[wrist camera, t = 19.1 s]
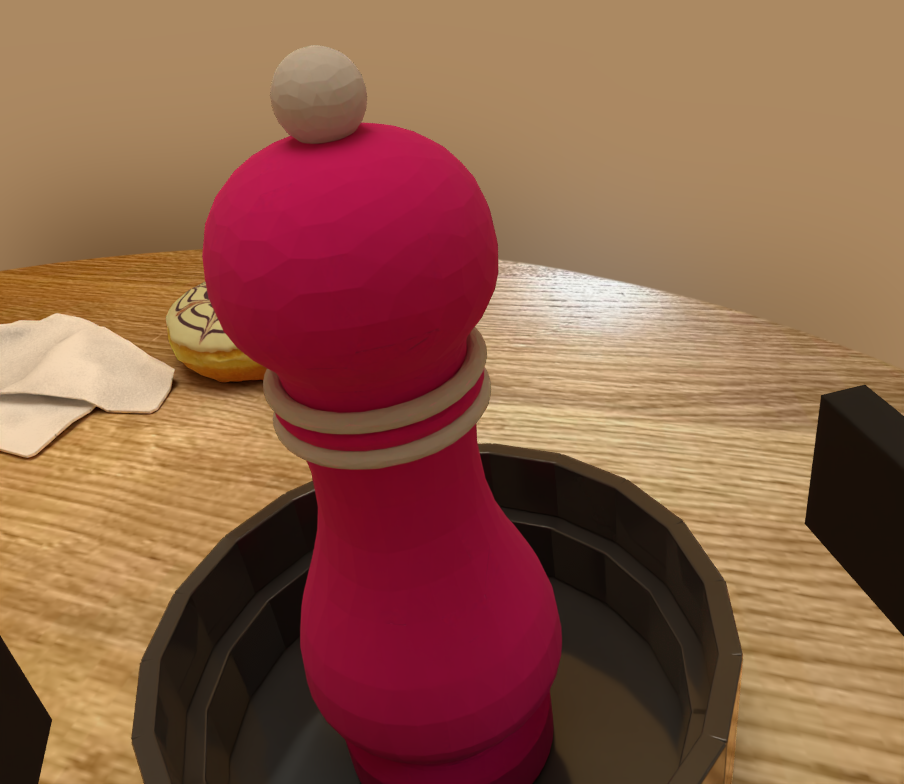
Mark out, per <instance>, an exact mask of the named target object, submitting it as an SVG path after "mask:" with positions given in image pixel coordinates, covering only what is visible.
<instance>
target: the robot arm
mask: <svg viewBox="0 0 904 784" xmlns="http://www.w3.org/2000/svg"><path fill="white" fill-rule="evenodd" d="M805 525H806V526H807V527H808V528H809V529H810V530H811V531H812V532H813V534H814V535H815V536H816V537H817V538H818V539H819V540H820V542H821V543H822V544H823V545H824V546H825V547H826V548H827V550H828V551H829V552H830V553H831V554H832V555H833V556H834V558H835V559H836V560H837V561H838V562H839V563H840V564H841V565H842V567H843V568H844V569H845V570H846V571H847V572H848V573H849V575H850V576H851V577H852V578H853V579H854V580H855V581H856V583H857V584H858V585H859V586H860V587H861V588H862V589H863V591H864V592H865V593H866V594H867V595H868V596H869V597H870V598H871V600H872V601H873V602H874V603H875V604H876V605H877V606H878V608H879V609H880V610H881V611H882V612H883V613H884V614H885V616H886V617H887V618H888V619H889V620H890V621H891V622H892V624H893V625H894V626H895V627H896V628H897V629H898V630H899V631H900V633H901V634H902V635H903V636H904V416H903V415H902V414H901V413H899V412H898V411H897V410H896V409H894V408H893V407H892V406H891V405H889V404H888V403H887V402H886V401H884V400H883V399H882V398H881V397H880V396H878V395H877V394H876V393H875V392H873V391H872V390H871V389H870V388H868V387H867V386H866V385H862V386H857V387H853V388H849V389H845V390H841V391H837V392H833V393H829V394H824V395H821V402H820V409H819V417H818V425H817V433H816V441H815V448H814V456H813V464H812V472H811V479H810V487H809V495H808V503H807V511H806V518H805ZM51 722H52V719H51V717H50V716H49V714H48V712H47V711H46V709H45V707H44V706H43V704H42V703H41V701H40V699H39V698H38V696H37V694H36V693H35V691H34V690H33V688H32V686H31V685H30V683H29V682H28V680H27V678H26V677H25V675H24V673H23V672H22V670H21V669H20V667H19V665H18V664H17V662H16V660H15V659H14V657H13V656H12V654H11V652H10V651H9V649H8V647H7V646H6V644H5V643H4V641H3V639H2V638H1V636H0V784H38V782H39V777H40V773H41V768H42V764H43V759H44V754H45V750H46V745H47V741H48V736H49V731H50V727H51Z"/></svg>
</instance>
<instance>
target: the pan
mask: <svg viewBox="0 0 904 784" xmlns="http://www.w3.org/2000/svg"><path fill="white" fill-rule="evenodd" d="M478 448H479V452H480V457H481V461H482V466H483V470H484V474H485V479H486V481H487V483H488V485H489V488H490V490H491V492H492V495H493V497H494V499H495V501H496V502H497V504H498V505H499V507H500V508H501V510H502V511H503V512H504V514H505V515H506V517H507V518H508V519H509V520H510V521H511V522H512V523H513V524H514V525H515V527H516V528H517V529H518V530H519V532H520V533H521V534H522V536H523V537H524V538H525V539H526V541H527V542H528V543H529V545H530V546H531V548H532V549H533V551H534V552H535V554H536V555H537V557H538V559H539V561H540V563H541V565H542V567H543V569H544V571H545V573H546V575H547V577H548V579H549V581H550V583H551V585H552V588H553V592H554V596H555V601H556V605H557V609H558V614H559V619H560V623H561V630H562V650H561V658H560V662H559V666H558V670H557V674H556V678H555V680H554V682H553V684H552V686H551V688H550V696H551V705H552V713H553V729H554V730H553V740H552V745H551V749H550V753H549V756H548V758H547V760H546V763H545V765H544V767H543V769H542V770H541V772H540V774H539V776H538V777H537V778H536V780H535V781H534V782H533V783H532V784H731V782H732V776H733V769H734V757H735V745H736V733H737V722H738V721H737V719H738V711H739V699H740V687H741V675H742V664H743V653H742V649H741V645H740V640H739V636H738V632H737V628H736V624H735V619H734V615H733V611H732V607H731V602H730V598H729V594H728V590H727V585H726V582H725V581H724V579H723V577H722V576H721V574H720V573H719V571H718V570H717V569H716V567H715V566H714V564H713V563H712V561H711V560H710V559H709V557H708V556H707V554H706V553H705V551H704V550H703V549H702V547H701V546H700V544H699V543H698V541H697V540H696V539H695V537H694V536H693V534H692V533H691V531H690V530H689V529H688V527H687V526H686V524H685V523H684V522H683V520H681V519H680V518H679V517H677V516H676V515H675V514H673V513H672V512H671V511H669V510H668V509H667V508H665V507H664V506H663V505H661V504H660V503H659V502H657V501H656V500H655V499H653V498H652V497H650V496H649V495H648V494H646V493H645V492H644V491H642V490H641V489H640V488H638V487H637V486H636V485H634V484H633V483H632V482H630V481H629V480H626V479H625V478H622V477H620V476H617V475H615V474H612V473H610V472H607V471H604V470H602V469H599V468H597V467H594V466H592V465H589V464H587V463H584V462H582V461H579V460H576V459H574V458H571V457H569V456H566V455H564V454H562V455H561V454H560V453H554V452H547V451H540V450H534V449H527V448H521V447H514V446H508V445H501V444H491V443H487V444H478ZM317 525H318V504H317V499H316V494H315V489H314V483H313V481H311V482H309V483H306V484H304V485H302V486H300V487H297V488H295V489H293V490H291V491H288V492H286V493H285V494H283V495H281V496H280V497H279V498H277V499H276V500H274V501H273V502H272V503H270V504H269V505H267V506H266V507H265V508H263V509H262V510H260V511H259V512H258V513H256V514H255V515H253V516H252V517H251V518H249V519H248V520H246V521H245V522H244V523H242V524H241V525H239V526H238V527H237V528H235V529H234V530H232V531H231V532H229V533H228V534H227V535H226V536H225V537H223V538H222V539H221V540H220V542H219V543H218V544H217V545H216V546H215V547H214V548H213V549H212V551H211V552H210V553H209V554H208V555H207V556H206V557H205V558H204V560H203V561H202V562H201V563H200V564H199V565H198V566H197V567H196V569H195V570H194V571H193V572H192V573H191V574H190V575H189V576H188V578H187V579H186V580H185V581H184V582H183V583H182V584H181V585H180V587H179V588H178V589H177V590H176V591H175V594H173V596H172V598H171V600H170V602H169V604H168V606H167V608H166V610H165V612H164V614H163V616H162V618H161V621H160V623H159V625H158V627H157V629H156V631H155V633H154V635H153V637H152V639H151V641H150V643H149V645H148V647H147V649H146V651H145V653H144V655H143V657H142V659H141V663H140V669H139V678H138V686H137V695H136V703H135V712H134V720H133V729H132V737H131V739H132V746H133V749H134V752H135V756H136V759H137V762H138V766H139V769H140V772H141V776H142V779H143V783H144V784H362V783H361V781H360V780H359V778H358V776H357V773H356V771H355V769H354V765H353V762H352V759H351V756H350V753H349V750H348V747H347V744H346V741H345V739H344V738H343V737H342V736H341V735H340V734H339V733H338V732H337V731H336V730H335V729H334V728H333V727H332V726H331V725H330V724H329V723H328V722H327V721H326V720H325V718H324V717H323V715H322V714H321V712H320V710H319V708H318V707H317V705H316V703H315V701H314V700H313V698H312V695H311V692H310V689H309V686H308V683H307V678H306V673H305V668H304V663H303V658H302V653H301V648H300V625H301V605H302V600H303V594H304V589H305V585H306V580H307V576H308V572H309V568H310V564H311V560H312V556H313V551H314V545H315V540H316V534H317Z"/></svg>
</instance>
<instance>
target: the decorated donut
mask: <svg viewBox="0 0 904 784" xmlns="http://www.w3.org/2000/svg"><path fill="white" fill-rule="evenodd" d="M166 323H167V327H168V329H167V332H168V340H169V343H170V345H171V347H172V350H173V352H174V353H175V356H176V358H177V359H178V360H179V361H180V362H183V364H184V365H185V366H186V367H188V368H189V369H192V370H194V371H195V372H197V373H199V374H200V375H203V376H206V377H209V378H213V379H216V380H217V381H219V382H229V381H243V380H264V374H265V372H266V370H267V368H266V367H264V366H262V365H260V364H258V363H256V362H254V361H253V360H252V359H250V358H249V357H248V356H247V355H245V354H244V353H243V352H242V351H240V350H239V349H238V348H237V347H236V346H235V345H234V343H233V342H232V341H231V340H230V338H229V337H228V336H227V335H226V334H225V332H224V331H223V329H222V327H221V325H220V322H219V320H218V318H217V316H216V313H215V311H214V309H213V307H212V305H211V302H210V300H209V298H208V293H207V287H206V282H203V283H202V284H200V285H198V286H196V287H194V288H192V289H190V290H189V291H187V292H186V293H185V294H183V295H182V296H181V297H180V298H179V299H178V300H177V301H176V302H175V303H174V304H173V305H172V306H171V308H170V309H169V311H168V314H167V316H166Z"/></svg>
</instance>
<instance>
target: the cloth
mask: <svg viewBox="0 0 904 784" xmlns="http://www.w3.org/2000/svg"><path fill="white" fill-rule="evenodd" d="M174 371H175V369H174V368H172V367H170V366H169V365H167V364H165V363H164V362H162V361H159V360H157V359H155V358H153V357H151V356H150V355H148V354H147V353H145V352H144V351H143V350H141V349H140V348H138V347H137V346H135V345H134V344H133V343H131V342H130V341H128V340H125V339H124V338H122V337H120V336H119V335H117V334H115V333H114V332H112V331H110V330H109V329H107V328H105V327H100V326H98V325H96V324H94V323H92V322H91V321H88V320H85V319H82V318H79V317H74V316H69V315H63V314H58V313H56V314H53V315H51V316H49V317H47V318H45V319H43V320H41V321H26V320H19V321H17V322H14V323H11V324H0V450H1V451H3V452H7V453H11V454H14V455H18V456H22V457H26V458H29V457H31V456H34V455H36V454H38V453H39V452H40V451H41V450H42V449H43V448H44V447H45V446H47V445H48V444H49V443H50V442H51V441H52V440H53V439H55V438H56V437H57V436H58V435H59V434H60V433H61V432H62V431H64V430H65V429H66V428H67V427H68V426H69V425H70V424H71V423H73V422H74V421H76V420H78V419H79V418H81V417H83V416H85V415H86V414H88V413H90V412H91V411H92V410H93V409H94V408H95V407H96V406H97V407H99V408H101V409H103V410H105V411H107V412H119V413H152V412H154V411H156V410H158V409H159V407H160V406H161V404H162V403H163V401H164V400H165V398H166V397H167V395H168V394H169V392H170V391H171V386H172V381H173V376H174Z"/></svg>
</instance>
